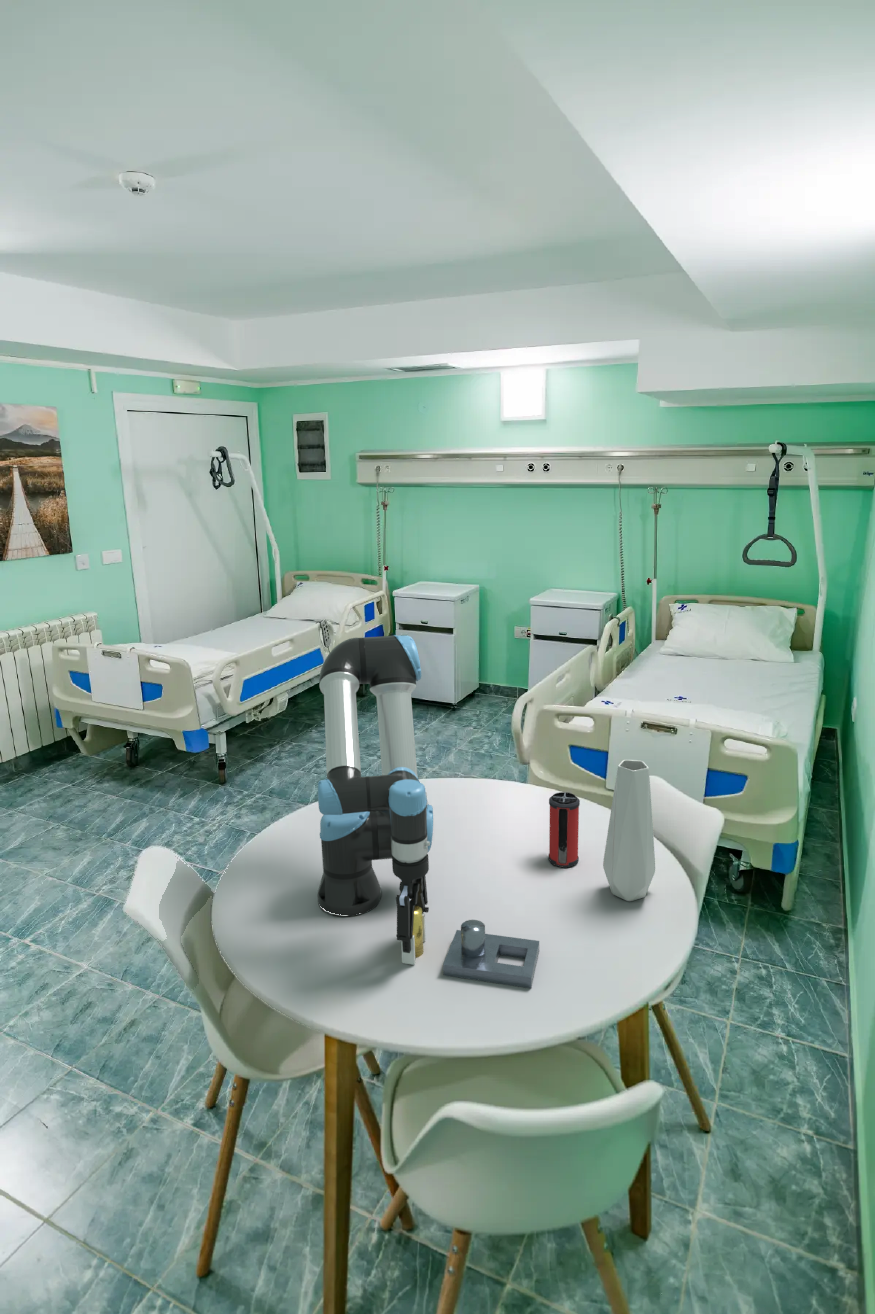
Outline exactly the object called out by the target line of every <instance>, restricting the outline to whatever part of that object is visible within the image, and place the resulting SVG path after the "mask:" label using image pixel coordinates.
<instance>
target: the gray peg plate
mask: <svg viewBox="0 0 875 1314" xmlns="http://www.w3.org/2000/svg"><path fill="white" fill-rule="evenodd" d="M539 954H540V940H535V939H528V938H519V937H513V936H505V935H497V934H490V933H486V925H485V923H484V922H483V921H481V920H477V919H468V920H465V921H464V922H462V923H461V924H460V929H456V931H455V934H454V936H453V939H452V942H451V943H450V946H449V948H448V951H447V954H446V956H445V959H444V961H443V963H442V964H443V965H442V971H443V973H442V974H443V976H444V977H445V976H447V977H453V978H461V979H466V980H473V981H479V982H480V981H481V982H485V983H486V982H487V983H493V984H498V985H500V984H501V985H505V986H512V987H518V988H525V989H532V986H533V984H534V983H533V982H534V978H535V974H536V973H535V972H536V969H537V964H538V961H539V960H538V959H539ZM500 956H506V957H513V958H522V959H524V963H523V966H522V965H516V964H515V965H514V964H508V963H503V962H498V961H499V958H500Z"/></svg>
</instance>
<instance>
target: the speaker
mask: <svg viewBox="0 0 875 1314" xmlns="http://www.w3.org/2000/svg"><path fill="white" fill-rule="evenodd" d="M548 805H549V838H548V839H549V841H548V842H549V846H548V847H549V849H548V850H549V853H548V861H549V862H550V863H551V864H552V865H553V866H555V867H562V868H570V867H573V866H575V865H576V864H578V862H579V861H580V859H579V822H580V821H579V819H580V817H579V816H580V812H579V811H580V805H581V804H580V799H579V798H578V797H577V796H576V795H575V794H573V793H571V792H567V791H562V792H561V791H560V792H556V793H553V795H551V796H550V797H549V799H548Z"/></svg>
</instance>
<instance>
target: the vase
mask: <svg viewBox="0 0 875 1314" xmlns="http://www.w3.org/2000/svg"><path fill="white" fill-rule="evenodd" d="M650 779H651V777H650V768H649V766H648V764H646V762H645V761H643V760H639V759H638V760H637V759H623V760H622V761H620V763H619V764H618V765H617V769H616V776H615V782H614V789H613V795H612V796H613V797H612V801H611V802H612V803H611V808H610V816H609V822H608V828H607V836H606V840H605V841H606V842H605V848H604V855H603V864H602V865H603V871H604V874H605V877H606V880H607V883H608V886H609V889H610V892H611V894H612V895H614V896H615V897H618V898H619V899H622V900H624V901H625V902H633V901H636V900H640V899H643V898H645V897H646V895H647V893H648V890H649V889H650V885H651V883H652V880H653V878H654V876H655V873H656V856H655V855H656V854H655V852H656V851H655V842H654V841H655V839H654V827H653V826H654V824H653V823H654V822H653V810H652V809H653V808H652V796H651V795H652V794H651V793H652V792H651V780H650Z"/></svg>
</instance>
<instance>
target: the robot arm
mask: <svg viewBox="0 0 875 1314" xmlns="http://www.w3.org/2000/svg"><path fill="white" fill-rule="evenodd" d="M421 679H422V667H421V661H420V656H419V652H418V647H417V643H416V642H415V640H414V639H413V637H412V636H410V635H396V634H393V635H383V636H380V635H379V636H367V637H353V638H352V637H351V638H348V639H346V640H343V641H341V642H340V643H338V644H337V645H336V646H335V647H334V648H333V649H332V650H331V651H330V652H329V654H328V655H327V656H326V658H325V659H324V661H323V664H322V666H321V668H320V672H319V680H318V681H319V685H318V686H319V689H320V692H321V693H322V695H323V701H324V706H323V707H324V734H325V735H324V736H325V760H326V761H325V763H326V764H325V765H326V768H325V769H326V778H324V779H321V780H319V781H318V782H317V804H318V810H319V812H320V814H322V816H321V819H320V822H319V823H320V824H319V828H320V829H319V831H320V832H319V839H320V841H321V859H322V871H323V873H322V876H321V880H320V884H319V886H318V890H317V903H318V902H319V904H320V906H321V907H322V908H324V909H325V910H326V911H329V912H331V913H335V914H339V915H340V914H341V915H355V916H357V915H356V914H359V913H363V914H365V912H366V913H368V912H369V911H372V910H373V909H374V908H376V907H377V906H378V905H379V904H380V902H381V898H382V887H381V884H380V882H379V880H378V879H379V878H377V875H376V873H375V870H374V867H373V861H380V860H381V861H382V860H389V859H391V861H392V862H391V863H392V865H391V866H392V867H391V868H392V873H393V875H394V876H395V877H396V878H398V879H399V880H400V882H399V892H400V894H396V896H395V901H396V935H395V936H396V940H397V941H399V942H400V946H401V948H400V949H401V963H402V964H406V965H413V966H415V964H416V958H415V939H414V935H413V921H414V907H415V905H416V906H419V907H421V909H422V924H423V943H424V942H426V940H427V937H426V936H427V935H426V934H427V933H426V917H425V916H426V914H427V913H429V909H430V908H429V907H428V906H427V905H428V902H429V901H428V890H427V878H426V875H427V874H428V872H429V870H430V869H429V868H430V866H429V864H430V863H429V853H430V851H431V847H432V844H433V834H434V833H433V831H434V809H433V808H434V807H433V806H432V804H430V803H428V804H427V801H428V797H427V798H426V793H427V791H426V787H425V785H424V784H423V783H422V782H421V781H420V780H419V778H418V766H417V765H418V764H417V755H416V754H417V752H416V740H415V729H414V727H415V726H414V716H413V714H414V713H413V705H412V693H413V692H414V691H415V690H416V688H417V682H418V681H419V682H420V681H421ZM367 684H369V692H370V693H371V694H373V695H374V697H376V698H375V699H376V706H377V707H376V708H377V722H378V724H377V725H378V736H379V738H378V739H379V750H380V751H379V753H380V765H381V775H370V776H369V775H367V776H362V766H361V752H360V739H359V738H360V737H359V724H358V723H359V722H358V709H357V708H358V707H357V706H358V705H357V692H358V691H359V688H360V685H367ZM426 804H427V805H426ZM319 904H318V905H319ZM320 906H319V907H320ZM367 911H368V912H367ZM425 913H426V914H425Z"/></svg>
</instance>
